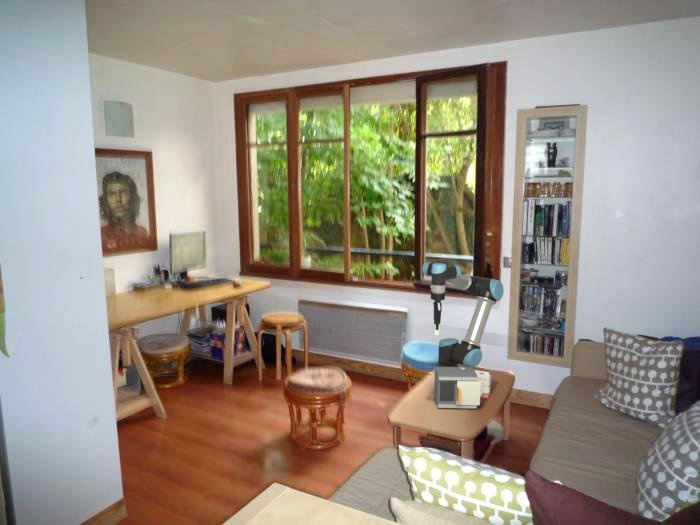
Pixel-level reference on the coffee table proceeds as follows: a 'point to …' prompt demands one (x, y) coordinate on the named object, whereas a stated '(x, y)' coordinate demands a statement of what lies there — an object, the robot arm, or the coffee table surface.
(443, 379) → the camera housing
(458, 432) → the coffee table surface
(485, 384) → the ink cartridge box
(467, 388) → the white boxy piece
